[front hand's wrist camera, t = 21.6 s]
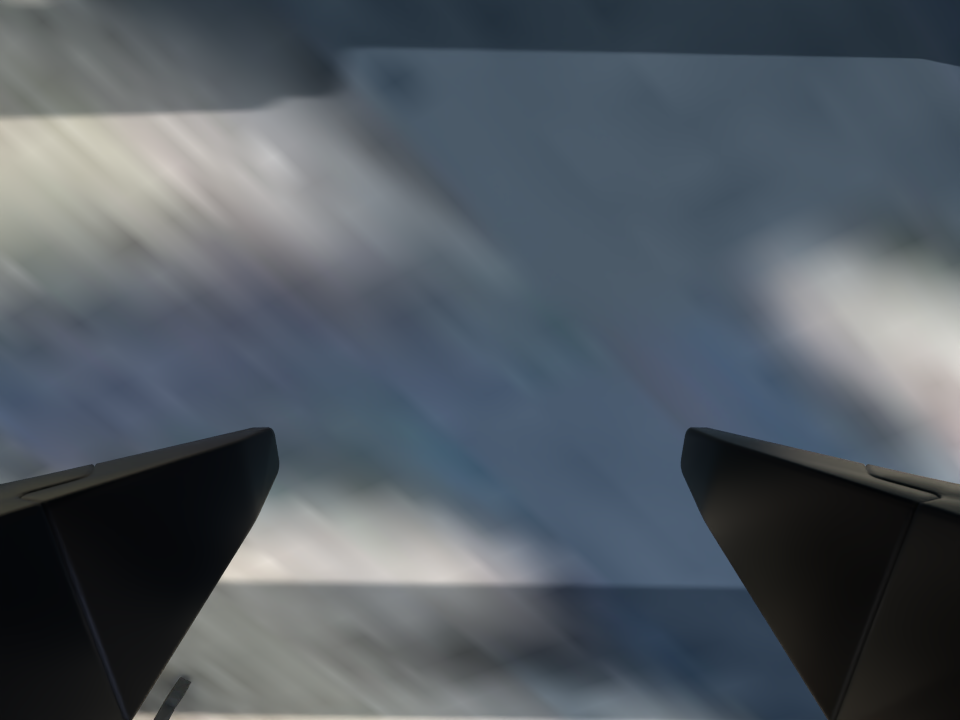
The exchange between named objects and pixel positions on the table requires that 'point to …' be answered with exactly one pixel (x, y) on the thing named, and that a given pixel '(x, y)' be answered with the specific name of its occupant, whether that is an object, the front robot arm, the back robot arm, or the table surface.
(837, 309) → the table surface
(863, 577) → the front robot arm
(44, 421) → the table surface
